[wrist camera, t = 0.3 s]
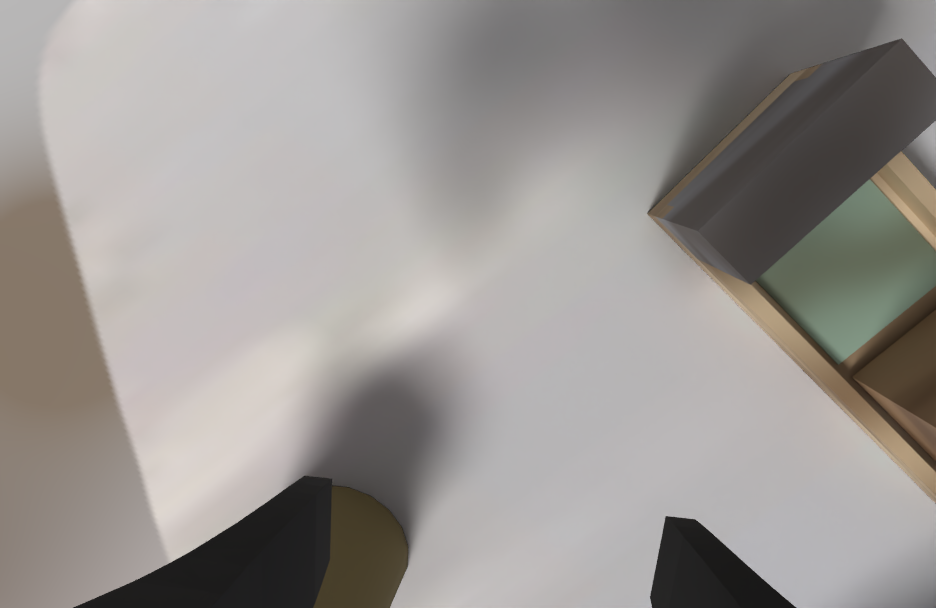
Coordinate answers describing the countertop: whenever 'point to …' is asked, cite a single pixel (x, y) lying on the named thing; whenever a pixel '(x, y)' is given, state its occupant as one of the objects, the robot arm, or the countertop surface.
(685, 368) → the countertop surface
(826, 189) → the rail
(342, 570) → the cork
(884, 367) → the carriage
